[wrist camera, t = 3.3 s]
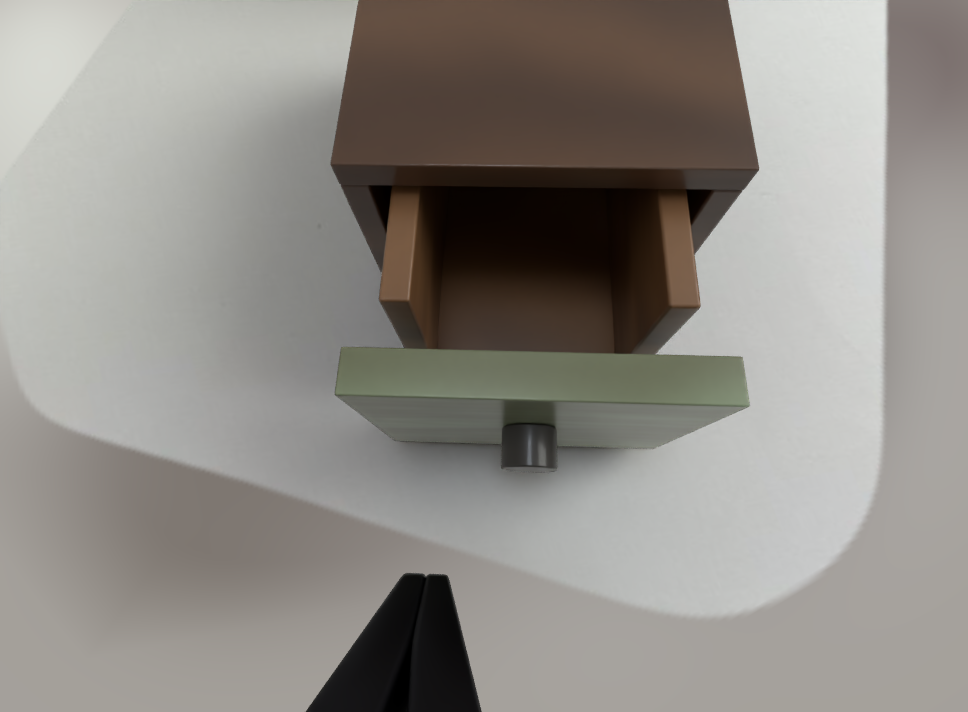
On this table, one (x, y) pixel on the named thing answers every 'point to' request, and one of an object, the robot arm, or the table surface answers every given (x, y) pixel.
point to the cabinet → (543, 102)
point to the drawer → (538, 323)
